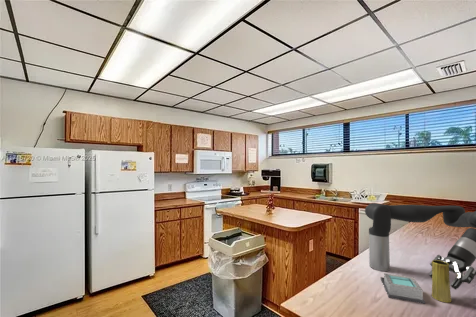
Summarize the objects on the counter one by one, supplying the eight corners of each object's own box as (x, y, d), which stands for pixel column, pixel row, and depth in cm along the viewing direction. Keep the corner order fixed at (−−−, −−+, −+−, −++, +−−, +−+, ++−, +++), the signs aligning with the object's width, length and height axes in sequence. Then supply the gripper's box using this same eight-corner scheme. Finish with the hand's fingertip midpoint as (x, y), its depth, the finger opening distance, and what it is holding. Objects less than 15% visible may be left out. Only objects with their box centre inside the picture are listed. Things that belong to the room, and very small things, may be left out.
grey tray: (380, 279, 111) (380, 268, 111) (411, 284, 106) (410, 272, 107) (388, 297, 95) (388, 284, 95) (425, 303, 91) (424, 290, 91)
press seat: (389, 280, 103) (389, 278, 103) (409, 283, 101) (409, 281, 101) (393, 288, 97) (393, 285, 97) (415, 291, 94) (415, 289, 94)
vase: (442, 294, 98) (440, 259, 98) (456, 302, 92) (454, 265, 92) (427, 294, 97) (426, 259, 98) (440, 303, 91) (439, 265, 92)
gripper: (491, 264, 90) (467, 298, 88) (452, 251, 104) (430, 280, 102) (479, 251, 89) (454, 284, 87) (441, 240, 103) (419, 268, 101)
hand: (441, 282), depth 94 cm, fingers open, 8 cm apart
